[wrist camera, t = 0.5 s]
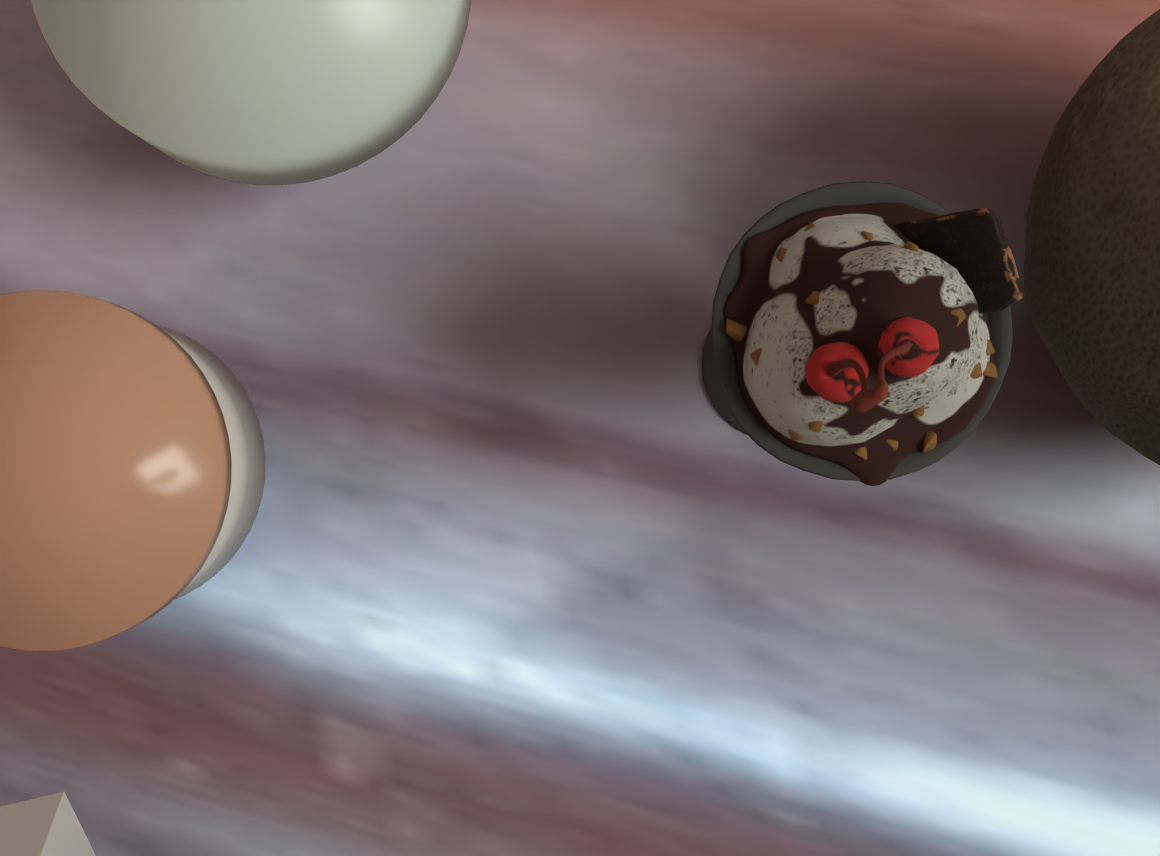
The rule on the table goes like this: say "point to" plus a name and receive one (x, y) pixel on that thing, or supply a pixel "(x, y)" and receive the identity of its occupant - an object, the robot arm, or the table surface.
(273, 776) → the table surface
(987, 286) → the sundae
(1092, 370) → the cantaloupe
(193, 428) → the bowl
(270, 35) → the lid
